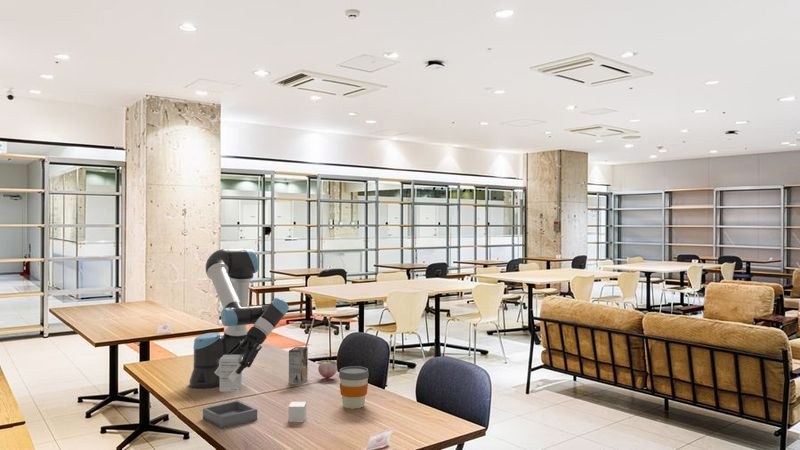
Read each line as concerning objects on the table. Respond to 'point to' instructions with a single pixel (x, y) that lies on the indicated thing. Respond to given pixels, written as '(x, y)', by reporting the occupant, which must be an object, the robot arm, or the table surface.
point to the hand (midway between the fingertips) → (223, 377)
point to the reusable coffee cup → (353, 386)
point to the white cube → (297, 412)
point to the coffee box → (298, 365)
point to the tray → (229, 414)
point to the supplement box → (229, 372)
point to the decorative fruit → (327, 368)
